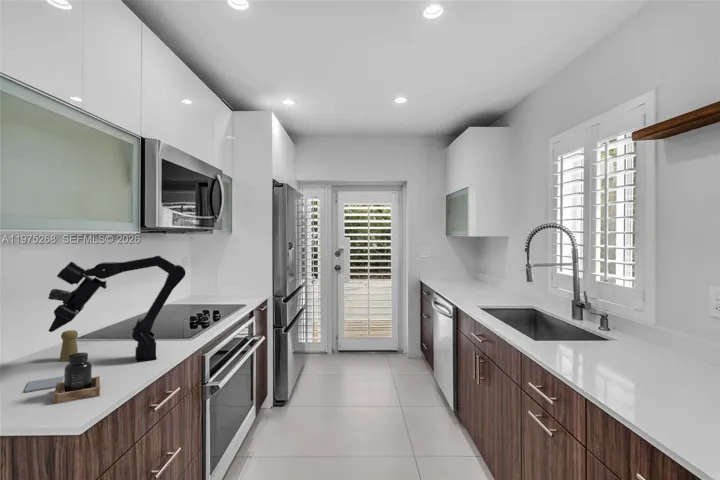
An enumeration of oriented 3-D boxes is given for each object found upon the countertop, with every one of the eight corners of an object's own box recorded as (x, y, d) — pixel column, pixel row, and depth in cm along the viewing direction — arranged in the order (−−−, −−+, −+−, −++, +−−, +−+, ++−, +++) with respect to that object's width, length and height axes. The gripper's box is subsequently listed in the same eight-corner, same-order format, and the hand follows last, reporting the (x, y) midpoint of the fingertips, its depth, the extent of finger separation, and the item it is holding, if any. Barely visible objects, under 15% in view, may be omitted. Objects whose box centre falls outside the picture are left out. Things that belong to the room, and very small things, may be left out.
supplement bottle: (96, 389, 123) (97, 351, 123) (81, 398, 116) (82, 358, 116) (74, 388, 123) (74, 351, 122) (58, 397, 116) (58, 357, 116)
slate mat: (63, 377, 131) (63, 376, 131) (61, 386, 124) (61, 385, 124) (28, 383, 126) (28, 381, 126) (24, 392, 119) (24, 391, 119)
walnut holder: (99, 383, 127) (99, 376, 127) (99, 395, 118) (99, 387, 118) (56, 390, 121) (56, 382, 121) (53, 403, 112) (53, 395, 112)
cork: (68, 362, 146) (68, 333, 146) (55, 360, 148) (55, 332, 147) (82, 357, 152) (83, 329, 152) (70, 356, 154) (70, 328, 153)
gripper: (68, 277, 148) (37, 311, 144) (56, 283, 131) (21, 322, 127) (96, 292, 152) (67, 327, 148) (88, 300, 136) (55, 339, 132)
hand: (53, 328), depth 139 cm, fingers open, 9 cm apart
